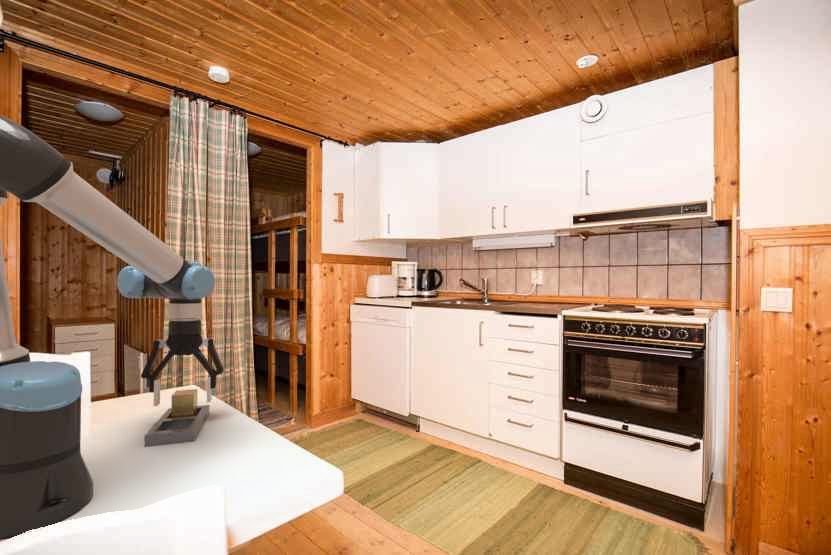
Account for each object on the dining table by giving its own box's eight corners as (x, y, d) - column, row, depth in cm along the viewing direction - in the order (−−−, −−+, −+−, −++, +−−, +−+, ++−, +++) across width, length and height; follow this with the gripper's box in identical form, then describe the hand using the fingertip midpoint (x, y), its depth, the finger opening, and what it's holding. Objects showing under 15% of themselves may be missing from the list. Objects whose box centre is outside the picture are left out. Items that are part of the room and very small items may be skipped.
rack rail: (194, 441, 93) (194, 430, 93) (144, 446, 90) (144, 435, 90) (209, 413, 112) (209, 404, 112) (168, 417, 109) (168, 408, 109)
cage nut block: (193, 424, 103) (193, 393, 103) (171, 427, 102) (171, 395, 102) (197, 418, 108) (197, 389, 108) (176, 420, 107) (176, 390, 107)
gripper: (236, 317, 112) (234, 395, 112) (137, 319, 105) (135, 402, 104) (232, 319, 105) (231, 403, 105) (126, 321, 98) (124, 411, 97)
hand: (183, 402), depth 105 cm, fingers open, 11 cm apart
